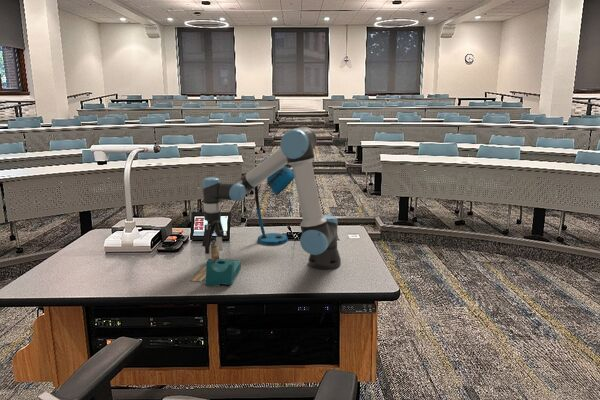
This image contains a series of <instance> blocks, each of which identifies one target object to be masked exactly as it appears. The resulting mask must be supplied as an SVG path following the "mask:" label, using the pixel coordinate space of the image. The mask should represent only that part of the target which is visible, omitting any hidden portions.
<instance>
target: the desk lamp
mask: <svg viewBox="0 0 600 400" xmlns="http://www.w3.org/2000/svg"><path fill="white" fill-rule="evenodd" d="M267 158H268V157H265V158H264V159H262V160H261V161H260V163H261V162H263V161H264V160H265V159H267ZM266 180H267V185H268V186H269V188H270V189H271V190H272V192H273V193H274V195H275V196H278V195H279V194H281V193H282V192H283V191H284V190H285V189H286V188H287V187H288V186H289V185H290V184H291V183H292V181H294V180H295V179H294V174H293V169H292V170H291V169H290V168H288V167H287V166H286V165H285V166H283V167H282V168H281V169H279V170H278V171H276V172H275V173H274V174H272V175H271V176H270V177H268V178H267V179H266ZM254 197H255V198H254V199H255V206H256V212H257V213H256V214H257V219H258V222H259V227H260V231H261V234H260V235H259V236H258V237H257V242H258V243H259V244H261V245H264V246H279V245H285V244H286V243H288V241H289V239H288V236H287V235H286V234H284V233H280V232H269V233H268V232H267V233H266V231H265V229H264V223H263V219H262V213H261V208H260V200H259V185H257V186H256V187H255V188H254Z"/></svg>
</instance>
